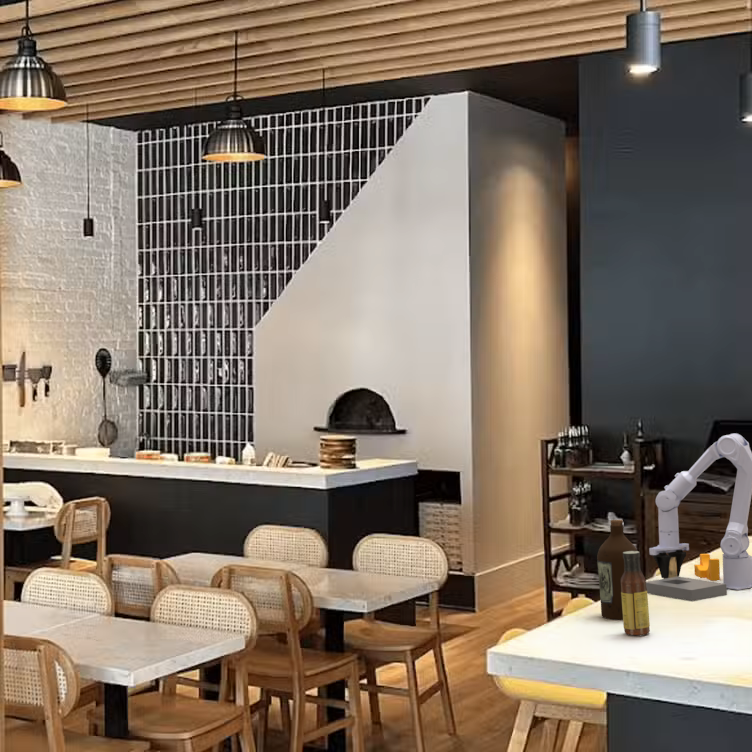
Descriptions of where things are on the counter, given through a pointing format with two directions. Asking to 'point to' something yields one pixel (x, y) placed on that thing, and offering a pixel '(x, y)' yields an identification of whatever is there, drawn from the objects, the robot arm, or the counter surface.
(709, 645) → the counter surface
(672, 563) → the pin
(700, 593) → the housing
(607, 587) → the olive oil
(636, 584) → the sauce bottle
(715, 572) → the pipe clamp
